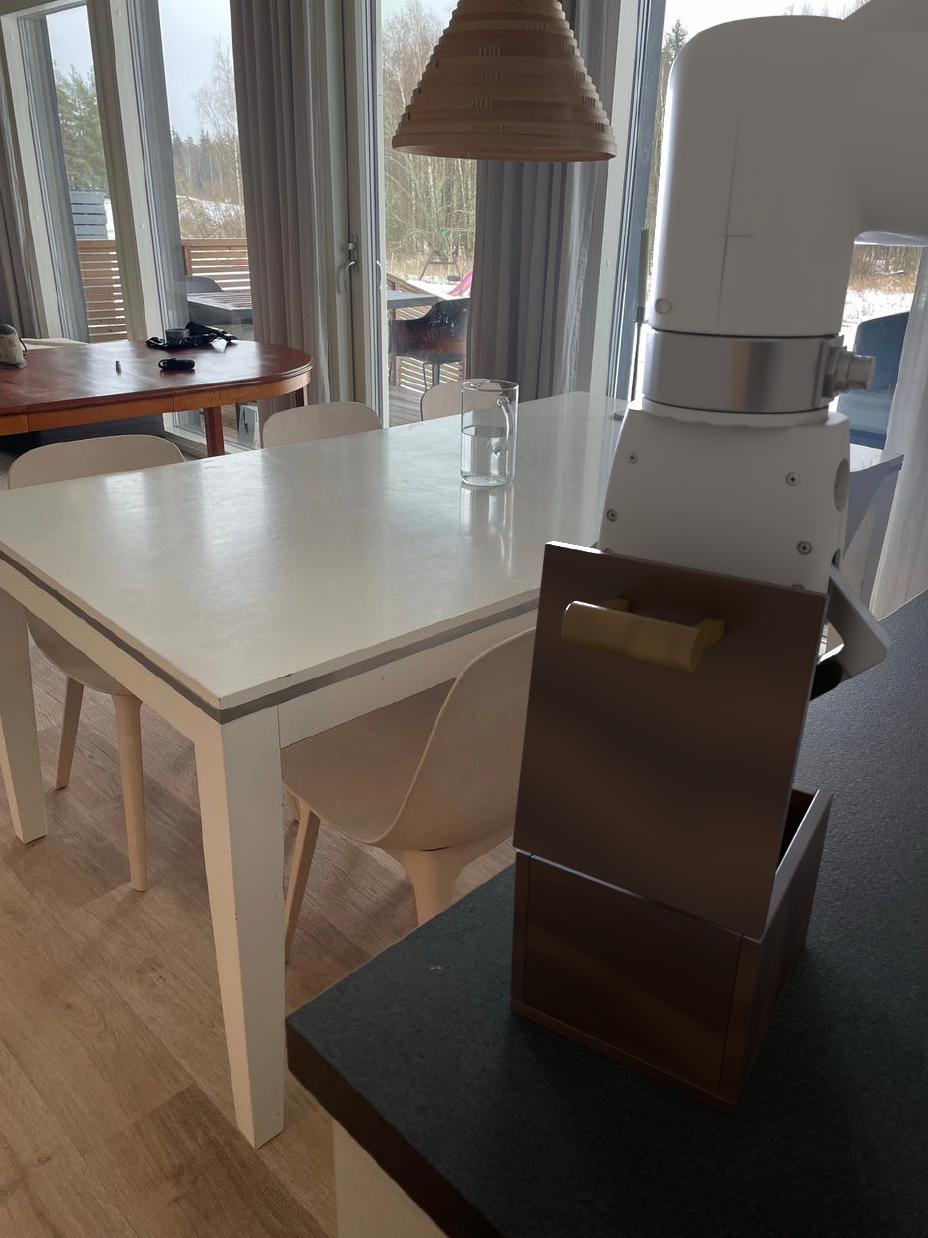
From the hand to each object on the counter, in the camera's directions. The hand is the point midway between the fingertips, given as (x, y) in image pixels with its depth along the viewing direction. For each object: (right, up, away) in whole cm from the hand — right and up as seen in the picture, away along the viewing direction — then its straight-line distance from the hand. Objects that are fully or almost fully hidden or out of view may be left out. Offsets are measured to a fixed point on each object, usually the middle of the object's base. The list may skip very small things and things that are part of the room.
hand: (691, 753), depth 45 cm
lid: (-3, +2, -6) cm, 7 cm away
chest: (0, -13, +5) cm, 14 cm away
